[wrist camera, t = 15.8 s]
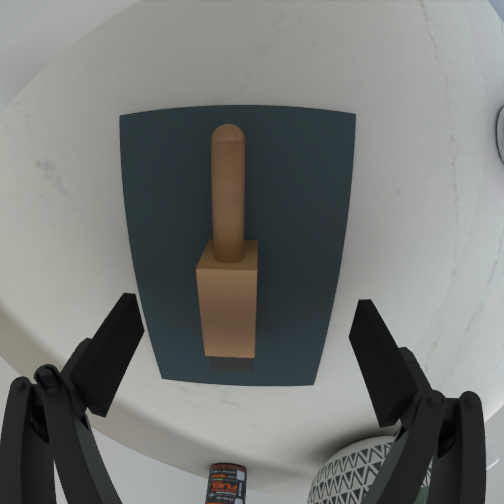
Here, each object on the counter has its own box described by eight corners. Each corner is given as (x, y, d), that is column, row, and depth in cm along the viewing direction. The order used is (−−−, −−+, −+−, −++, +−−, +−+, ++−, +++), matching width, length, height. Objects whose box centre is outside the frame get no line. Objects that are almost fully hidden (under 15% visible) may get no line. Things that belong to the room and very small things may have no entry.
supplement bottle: (240, 461, 32) (236, 525, 22) (251, 472, 34) (249, 529, 24) (203, 462, 33) (195, 522, 22) (218, 473, 35) (212, 527, 25)
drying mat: (122, 115, 14) (119, 115, 14) (353, 114, 14) (356, 113, 14) (163, 375, 23) (161, 378, 23) (312, 381, 23) (313, 385, 23)
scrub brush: (206, 126, 14) (189, 123, 10) (260, 125, 14) (260, 122, 10) (215, 335, 20) (207, 374, 16) (254, 336, 20) (254, 376, 16)
